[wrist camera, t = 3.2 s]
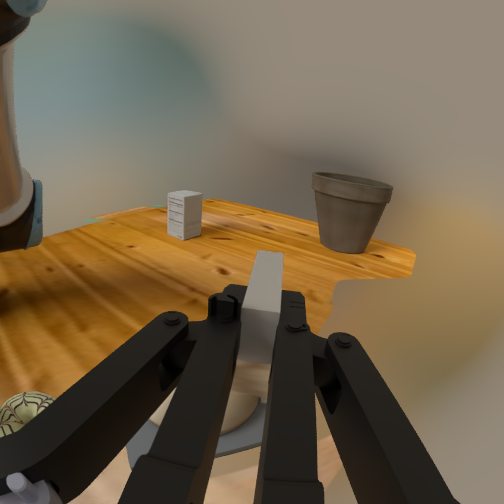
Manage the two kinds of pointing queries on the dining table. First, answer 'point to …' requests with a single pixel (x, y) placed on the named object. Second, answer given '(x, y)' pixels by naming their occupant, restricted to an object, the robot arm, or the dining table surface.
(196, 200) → the supplement box
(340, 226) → the plant pot
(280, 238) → the dining table surface
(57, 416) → the robot arm
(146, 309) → the dining table surface
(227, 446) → the dial plate
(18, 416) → the decorated donut
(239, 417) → the dial
